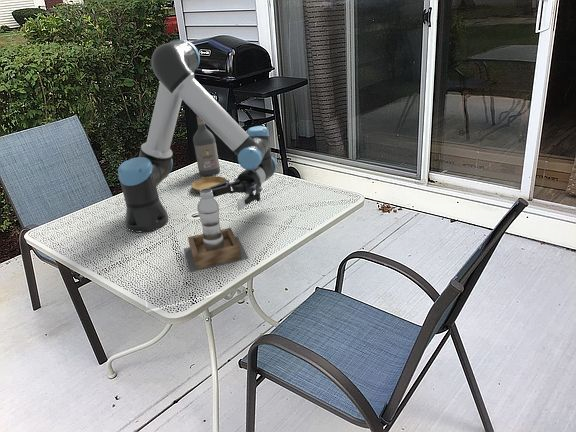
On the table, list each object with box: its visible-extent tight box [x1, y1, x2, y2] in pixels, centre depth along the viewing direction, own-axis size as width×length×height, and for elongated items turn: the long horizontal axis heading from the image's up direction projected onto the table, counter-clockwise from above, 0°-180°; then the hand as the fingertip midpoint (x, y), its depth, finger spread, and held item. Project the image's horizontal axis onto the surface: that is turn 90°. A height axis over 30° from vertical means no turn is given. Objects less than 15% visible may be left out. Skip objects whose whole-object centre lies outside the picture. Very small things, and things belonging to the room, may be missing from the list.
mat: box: [183, 236, 250, 273], centre depth 155 cm, size 18×16×1 cm
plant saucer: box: [191, 175, 227, 193], centre depth 208 cm, size 15×15×3 cm
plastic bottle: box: [196, 189, 224, 251], centre depth 151 cm, size 6×7×20 cm
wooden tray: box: [187, 227, 242, 269], centre depth 154 cm, size 14×14×4 cm
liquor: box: [192, 112, 221, 177], centre depth 219 cm, size 9×9×30 cm
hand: (219, 204), depth 155 cm, fingers open, 13 cm apart
